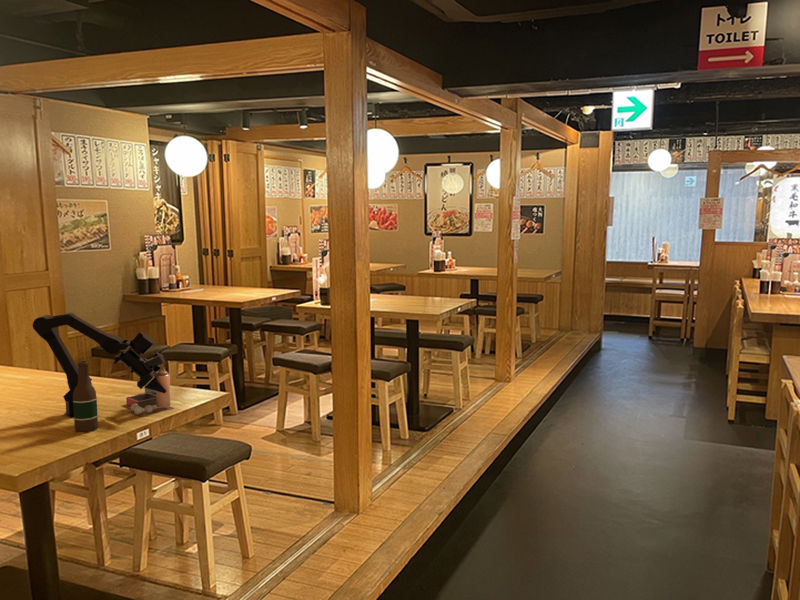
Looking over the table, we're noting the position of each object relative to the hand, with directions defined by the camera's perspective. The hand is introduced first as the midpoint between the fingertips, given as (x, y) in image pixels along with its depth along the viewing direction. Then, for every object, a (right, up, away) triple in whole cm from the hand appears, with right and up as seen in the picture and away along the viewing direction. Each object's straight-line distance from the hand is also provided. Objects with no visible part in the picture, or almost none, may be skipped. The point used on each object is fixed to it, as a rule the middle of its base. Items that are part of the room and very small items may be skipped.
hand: (166, 390), depth 239 cm
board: (-6, -8, -1) cm, 10 cm away
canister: (-1, -6, 0) cm, 6 cm away
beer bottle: (-20, -11, -22) cm, 31 cm away
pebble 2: (-8, -6, -7) cm, 12 cm away
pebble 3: (-5, -6, -5) cm, 9 cm away
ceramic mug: (-14, -5, +25) cm, 29 cm away
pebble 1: (-11, -6, -4) cm, 13 cm away
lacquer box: (-11, -7, +7) cm, 15 cm away
